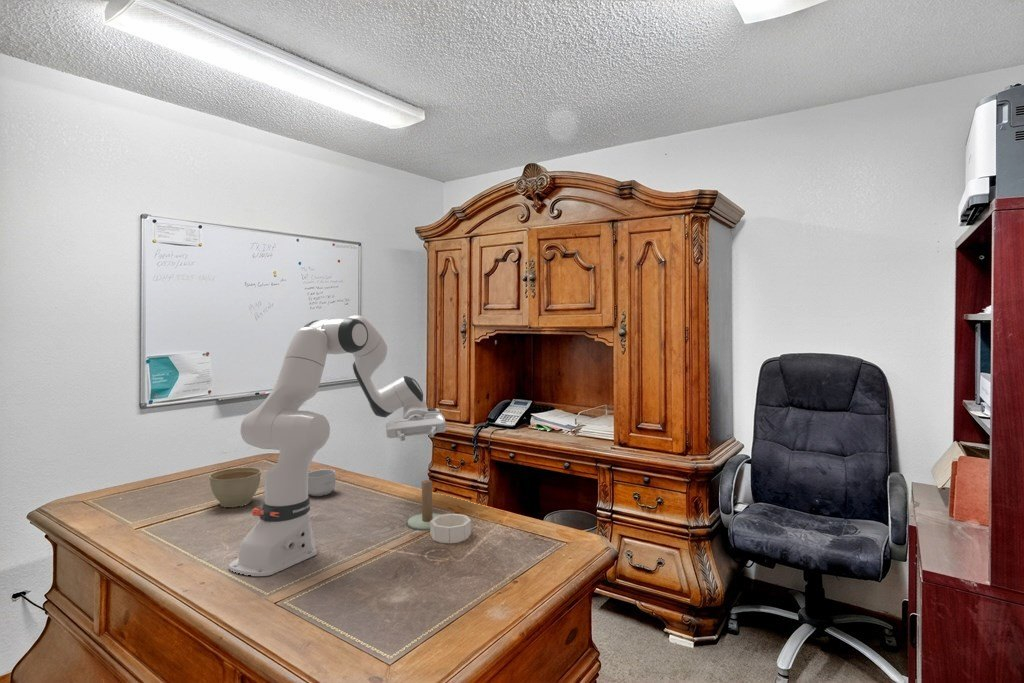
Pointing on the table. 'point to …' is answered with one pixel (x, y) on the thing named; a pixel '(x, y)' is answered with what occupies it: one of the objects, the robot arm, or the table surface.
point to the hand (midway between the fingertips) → (417, 437)
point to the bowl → (450, 528)
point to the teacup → (321, 482)
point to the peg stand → (424, 509)
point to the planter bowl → (235, 485)
